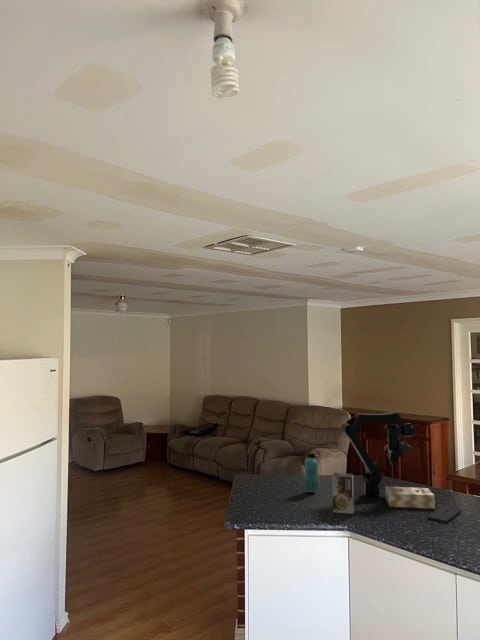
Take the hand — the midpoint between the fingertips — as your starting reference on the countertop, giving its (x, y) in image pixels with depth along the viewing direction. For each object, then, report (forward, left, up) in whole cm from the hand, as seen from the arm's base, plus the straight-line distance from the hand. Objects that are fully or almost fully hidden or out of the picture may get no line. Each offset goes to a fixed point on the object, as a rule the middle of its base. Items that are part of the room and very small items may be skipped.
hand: (394, 468), depth 238 cm
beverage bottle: (-42, -4, -13) cm, 44 cm away
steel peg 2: (+9, -15, -13) cm, 22 cm away
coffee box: (-28, -31, -13) cm, 44 cm away
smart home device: (+16, -30, -14) cm, 37 cm away
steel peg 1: (-1, -15, -13) cm, 20 cm away
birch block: (+4, -15, -13) cm, 20 cm away
